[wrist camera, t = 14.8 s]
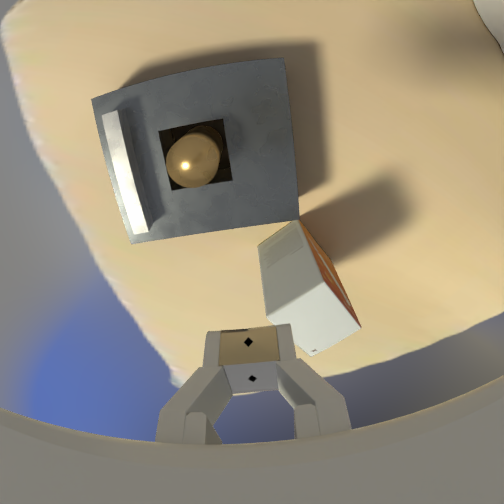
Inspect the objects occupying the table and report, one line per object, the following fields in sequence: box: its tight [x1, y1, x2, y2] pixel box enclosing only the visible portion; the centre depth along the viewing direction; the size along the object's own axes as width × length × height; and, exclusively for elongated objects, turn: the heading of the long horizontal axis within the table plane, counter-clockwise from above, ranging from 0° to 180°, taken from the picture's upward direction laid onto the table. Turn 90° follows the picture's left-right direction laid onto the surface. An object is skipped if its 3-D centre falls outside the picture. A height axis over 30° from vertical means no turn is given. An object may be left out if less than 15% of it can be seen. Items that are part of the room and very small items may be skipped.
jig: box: [91, 58, 300, 244], centre depth 27 cm, size 18×16×7 cm
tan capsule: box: [166, 126, 223, 188], centre depth 27 cm, size 4×4×8 cm
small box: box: [258, 220, 361, 357], centre depth 32 cm, size 8×6×13 cm
